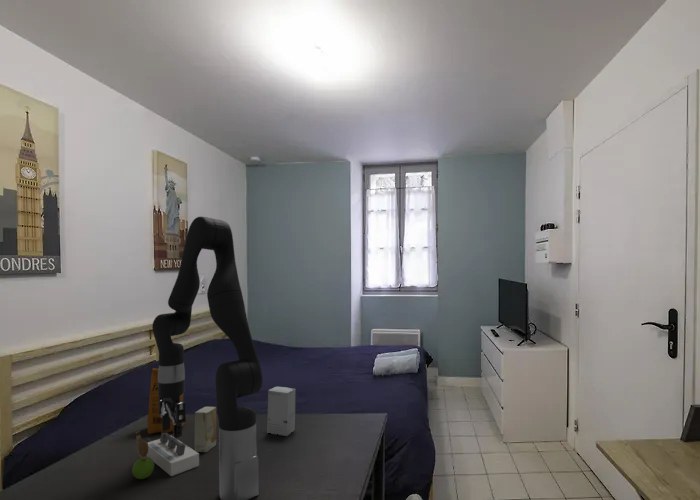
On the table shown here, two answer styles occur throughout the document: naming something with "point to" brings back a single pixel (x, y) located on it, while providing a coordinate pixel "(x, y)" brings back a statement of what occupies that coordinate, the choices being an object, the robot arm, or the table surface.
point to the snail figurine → (142, 460)
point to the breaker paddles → (172, 443)
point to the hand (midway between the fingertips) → (171, 433)
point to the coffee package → (156, 407)
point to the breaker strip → (172, 457)
